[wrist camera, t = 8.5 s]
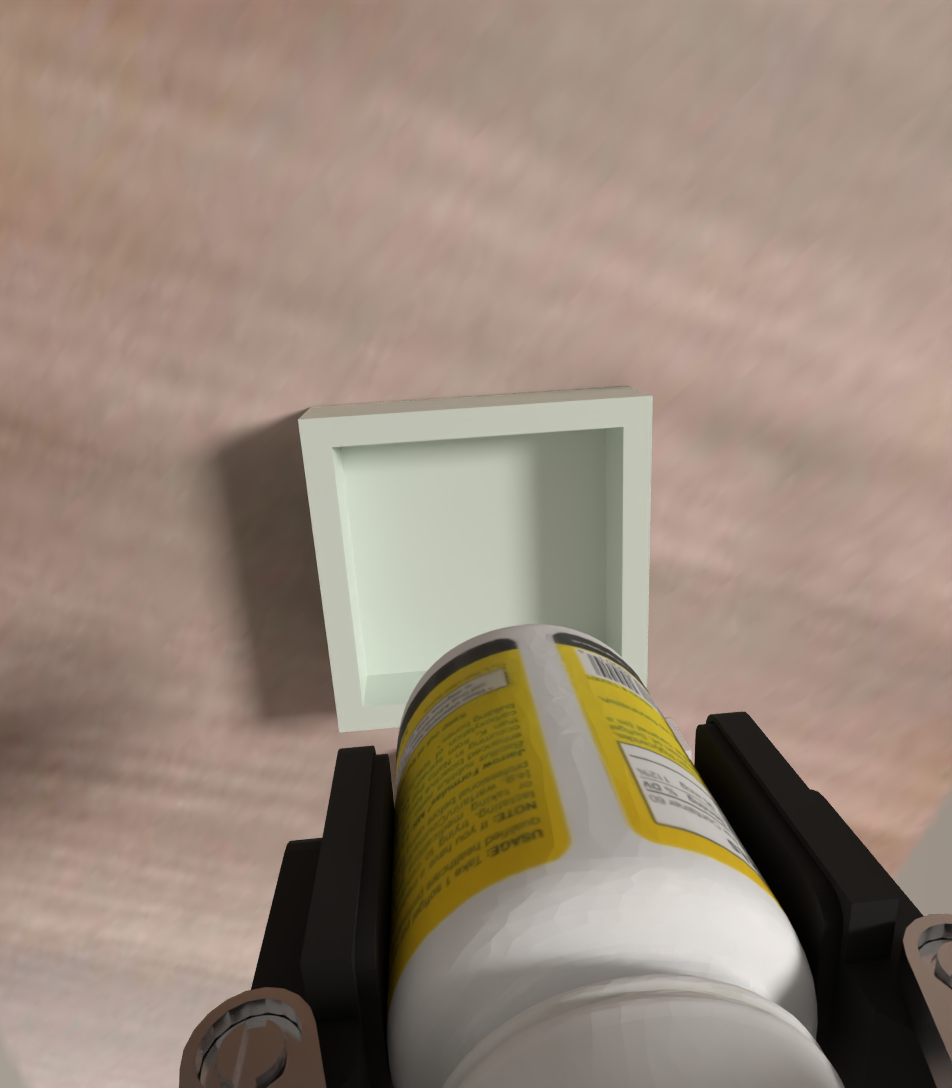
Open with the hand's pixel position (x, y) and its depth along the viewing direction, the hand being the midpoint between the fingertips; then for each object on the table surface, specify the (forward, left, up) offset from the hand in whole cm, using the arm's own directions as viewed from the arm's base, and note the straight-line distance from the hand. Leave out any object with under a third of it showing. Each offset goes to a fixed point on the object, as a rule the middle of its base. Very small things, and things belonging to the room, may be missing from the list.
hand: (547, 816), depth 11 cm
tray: (0, 0, -13) cm, 13 cm away
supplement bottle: (0, 0, -3) cm, 3 cm away
